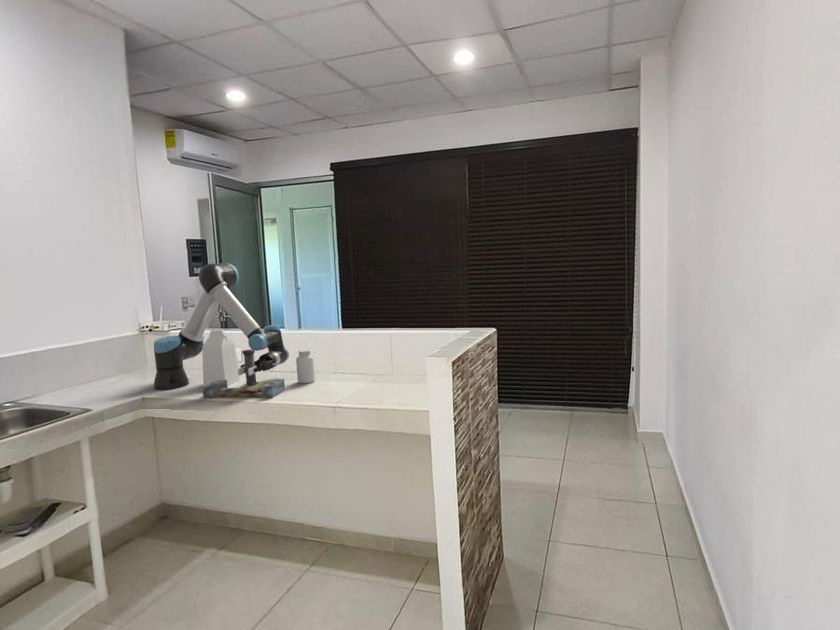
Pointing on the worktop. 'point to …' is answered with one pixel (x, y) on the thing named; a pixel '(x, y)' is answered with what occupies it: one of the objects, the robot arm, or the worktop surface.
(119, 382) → the worktop surface
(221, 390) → the rail track
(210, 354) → the milk
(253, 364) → the dark grey post
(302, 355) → the pill bottle
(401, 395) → the worktop surface
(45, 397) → the worktop surface
